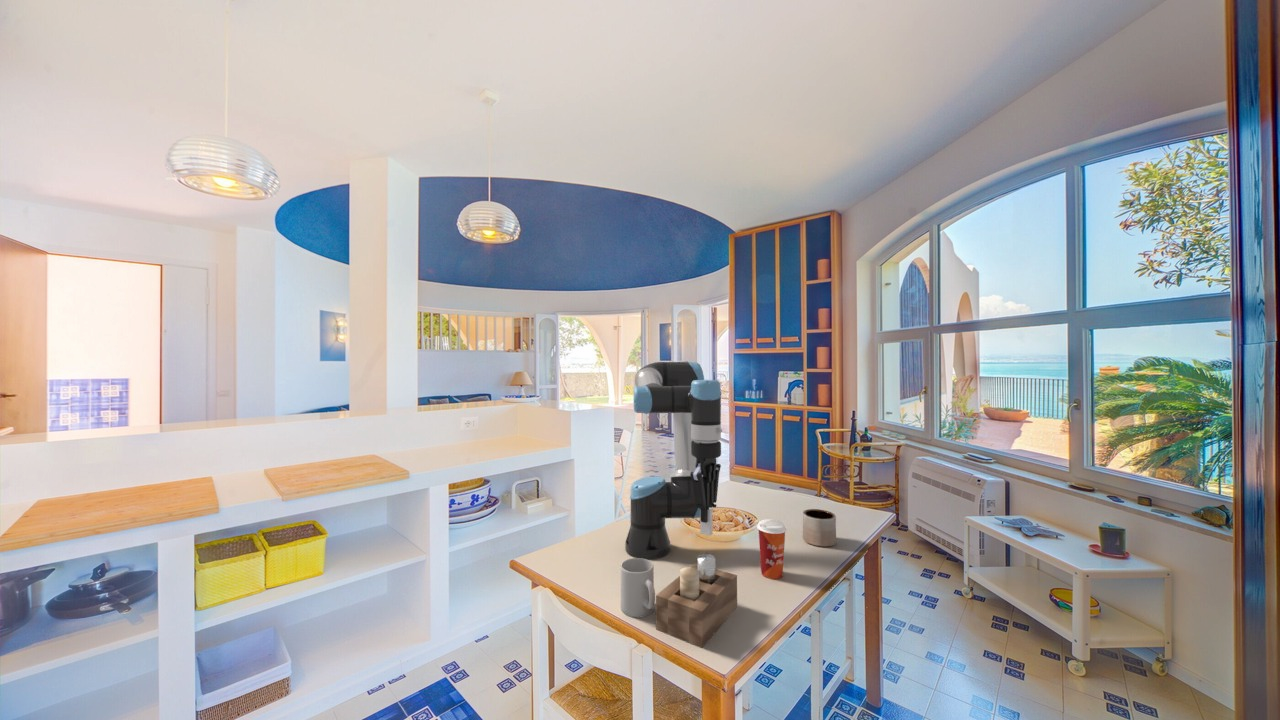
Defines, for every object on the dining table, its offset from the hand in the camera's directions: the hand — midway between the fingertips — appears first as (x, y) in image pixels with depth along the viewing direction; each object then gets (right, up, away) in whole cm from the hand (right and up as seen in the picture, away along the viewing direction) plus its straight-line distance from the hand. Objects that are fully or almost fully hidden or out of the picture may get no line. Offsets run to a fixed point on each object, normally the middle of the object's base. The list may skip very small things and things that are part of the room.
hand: (706, 533), depth 112 cm
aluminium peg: (0, -14, 0) cm, 14 cm away
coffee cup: (+22, -19, +18) cm, 35 cm away
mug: (-17, -20, -1) cm, 26 cm away
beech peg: (-5, -14, -7) cm, 17 cm away
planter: (+46, -20, +42) cm, 65 cm away
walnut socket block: (-3, -19, -4) cm, 20 cm away
